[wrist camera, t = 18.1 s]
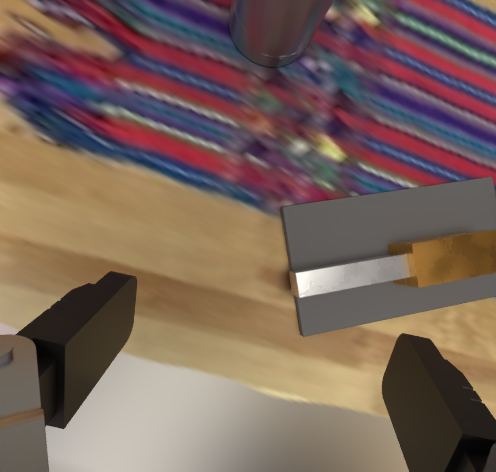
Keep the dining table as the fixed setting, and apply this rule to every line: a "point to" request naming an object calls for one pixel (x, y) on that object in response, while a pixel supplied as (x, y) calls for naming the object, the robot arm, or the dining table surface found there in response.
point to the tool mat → (384, 249)
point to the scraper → (406, 264)
